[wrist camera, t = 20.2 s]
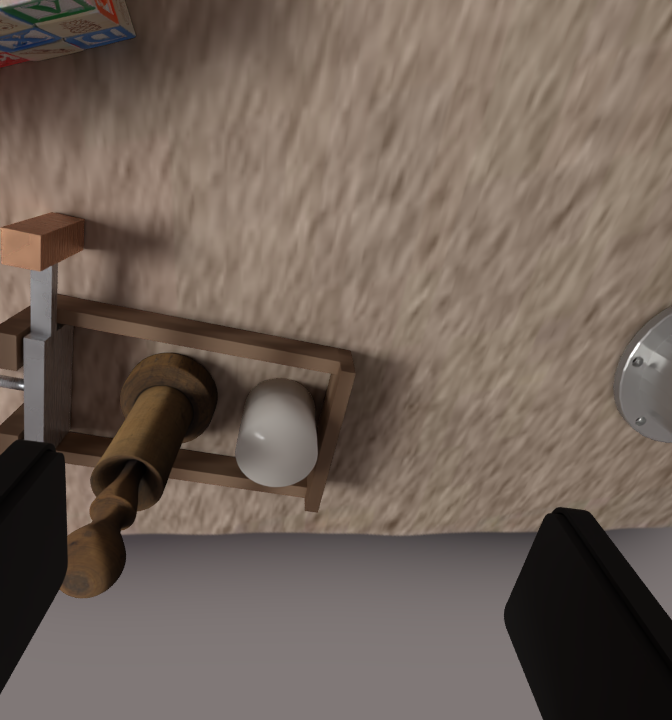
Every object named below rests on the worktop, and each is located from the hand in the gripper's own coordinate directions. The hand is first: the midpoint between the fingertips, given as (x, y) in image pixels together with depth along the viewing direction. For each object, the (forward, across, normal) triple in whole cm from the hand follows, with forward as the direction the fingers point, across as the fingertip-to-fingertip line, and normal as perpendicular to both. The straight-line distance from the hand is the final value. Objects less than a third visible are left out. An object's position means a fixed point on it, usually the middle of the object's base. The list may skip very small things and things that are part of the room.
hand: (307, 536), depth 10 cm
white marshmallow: (+27, 0, +12) cm, 30 cm away
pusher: (+26, +18, +8) cm, 33 cm away
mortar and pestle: (+27, +8, +12) cm, 31 cm away
